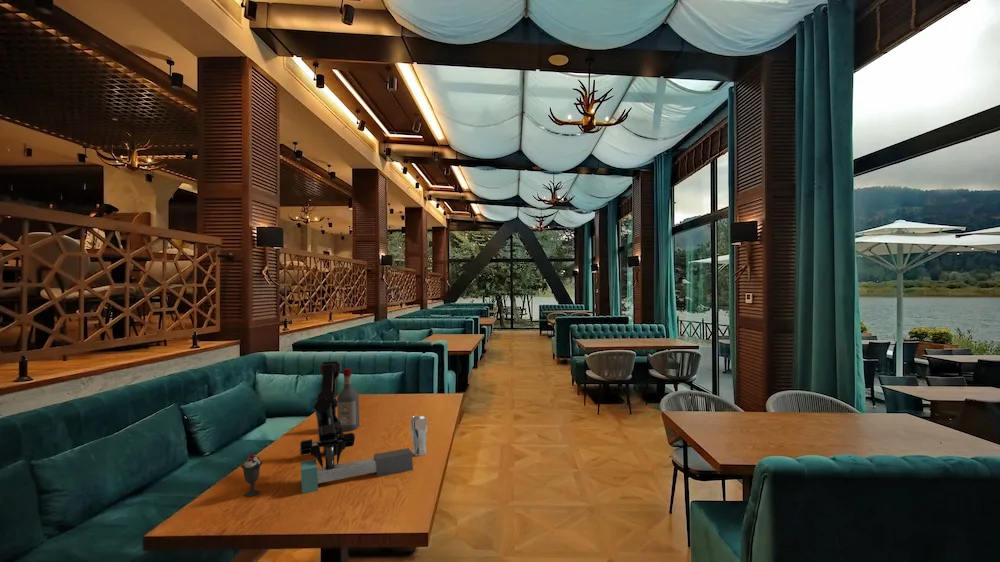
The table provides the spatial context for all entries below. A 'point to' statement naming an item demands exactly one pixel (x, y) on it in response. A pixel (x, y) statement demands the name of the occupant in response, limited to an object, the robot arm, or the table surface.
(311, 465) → the socket block
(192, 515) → the table surface
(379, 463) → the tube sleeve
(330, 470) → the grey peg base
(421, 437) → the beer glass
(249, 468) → the sundae
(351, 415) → the liquor
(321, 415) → the robot arm
